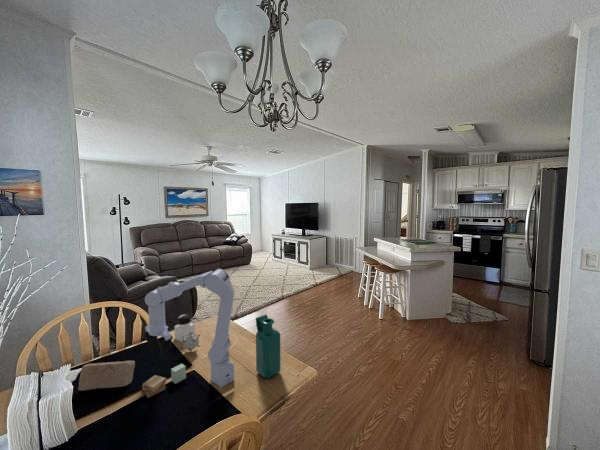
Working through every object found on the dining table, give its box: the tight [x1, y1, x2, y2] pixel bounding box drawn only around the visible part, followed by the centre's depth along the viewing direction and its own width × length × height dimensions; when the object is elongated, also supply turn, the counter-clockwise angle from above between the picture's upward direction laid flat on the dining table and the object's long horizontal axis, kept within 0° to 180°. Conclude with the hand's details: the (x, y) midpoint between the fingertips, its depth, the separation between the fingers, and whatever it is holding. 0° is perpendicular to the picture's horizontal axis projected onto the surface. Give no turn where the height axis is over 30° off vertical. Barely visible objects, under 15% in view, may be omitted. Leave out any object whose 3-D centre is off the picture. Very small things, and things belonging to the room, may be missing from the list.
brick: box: [77, 360, 136, 391], centre depth 99 cm, size 16×8×5 cm
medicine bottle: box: [174, 314, 196, 344], centre depth 135 cm, size 7×7×12 cm
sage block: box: [170, 363, 187, 385], centre depth 103 cm, size 3×4×5 cm
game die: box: [180, 332, 201, 352], centre depth 122 cm, size 9×8×10 cm
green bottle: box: [255, 314, 282, 379], centre depth 108 cm, size 10×8×22 cm
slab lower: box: [142, 384, 166, 399], centre depth 97 cm, size 6×6×2 cm
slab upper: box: [141, 374, 167, 393], centre depth 97 cm, size 6×6×2 cm
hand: (158, 352), depth 104 cm, fingers open, 7 cm apart
